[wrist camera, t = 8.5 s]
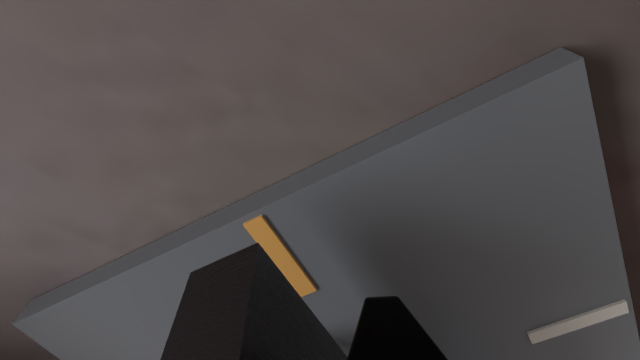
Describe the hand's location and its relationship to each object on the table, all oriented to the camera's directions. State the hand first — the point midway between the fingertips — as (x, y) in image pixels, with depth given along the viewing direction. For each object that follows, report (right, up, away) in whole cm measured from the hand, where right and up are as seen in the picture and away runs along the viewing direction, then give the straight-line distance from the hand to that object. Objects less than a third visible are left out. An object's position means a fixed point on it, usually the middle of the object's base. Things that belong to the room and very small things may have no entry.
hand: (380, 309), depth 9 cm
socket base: (+1, -4, +7) cm, 9 cm away
